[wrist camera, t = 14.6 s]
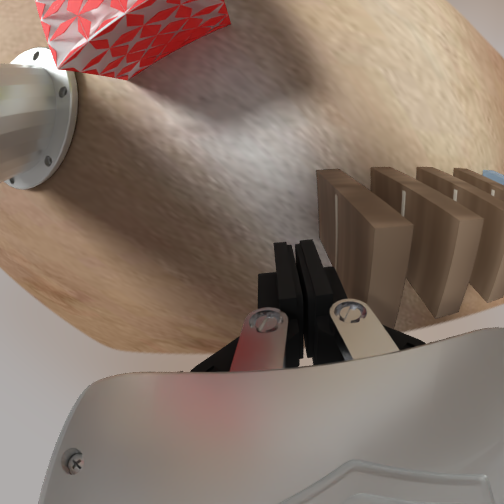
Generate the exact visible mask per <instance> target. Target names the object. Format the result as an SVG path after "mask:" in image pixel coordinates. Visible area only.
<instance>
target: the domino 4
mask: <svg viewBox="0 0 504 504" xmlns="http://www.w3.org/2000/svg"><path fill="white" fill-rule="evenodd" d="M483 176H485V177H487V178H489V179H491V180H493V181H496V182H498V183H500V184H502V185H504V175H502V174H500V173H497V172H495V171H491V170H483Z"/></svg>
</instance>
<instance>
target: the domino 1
mask: <svg viewBox="0 0 504 504" xmlns="http://www.w3.org/2000/svg"><path fill="white" fill-rule="evenodd" d="M316 174H317V191H318V211H319V238H320V240H321V242H322V244H323V246H324V248H325V251H326V253H327V255H328V257H329V259H330V261H331V264H332V266H333V267H334V268H335V270H336V272H337V274H338V276H339V279H340V281H341V283H342V286H343V288H344V290H345V293H346V295H347V298H348V299H356V300H360V301H362V302H364V303H366V304H367V305H368V306H369V307H370V309H371V310H372V311H373V313H374V314H375V316H376V317H377V318H378V320H379V321H380V323H381V324H382V325H384V326H387V327H389V328H392V329H394V326H395V323H396V319H397V315H398V311H399V307H400V302H401V298H402V293H403V289H404V284H405V279H406V273H407V268H408V262H409V256H410V249H411V242H412V235H413V226H414V225H413V224H412V223H411V222H410V221H408V220H407V219H406V218H405V217H403V216H402V215H401V214H400V213H399V212H397V211H396V210H395V209H393V208H392V207H391V206H390V205H388V204H387V203H386V202H384V201H383V200H382V199H381V198H379V197H378V196H377V195H375V194H374V193H373V192H371V191H370V190H368V189H367V188H366V187H364V186H363V185H362V184H360V183H359V182H357V181H356V180H354V179H353V178H352V177H350V176H349V175H347V174H346V173H344V172H343V171H341V170H340V169H328V170H316Z"/></svg>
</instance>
